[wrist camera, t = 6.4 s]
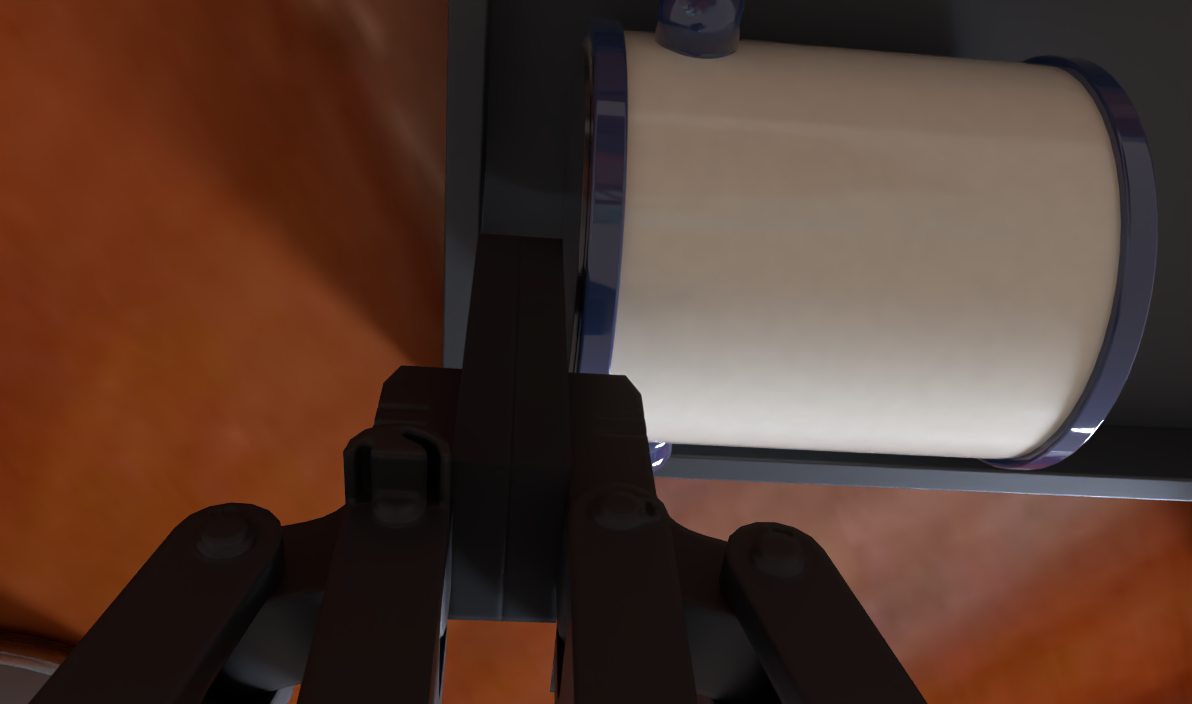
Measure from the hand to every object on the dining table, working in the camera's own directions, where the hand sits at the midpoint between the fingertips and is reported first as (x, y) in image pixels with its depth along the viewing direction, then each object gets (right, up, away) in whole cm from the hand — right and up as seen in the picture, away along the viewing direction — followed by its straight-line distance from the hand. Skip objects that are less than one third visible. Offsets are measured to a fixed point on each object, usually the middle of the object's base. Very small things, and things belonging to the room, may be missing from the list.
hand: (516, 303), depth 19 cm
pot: (+6, +4, +7) cm, 10 cm away
